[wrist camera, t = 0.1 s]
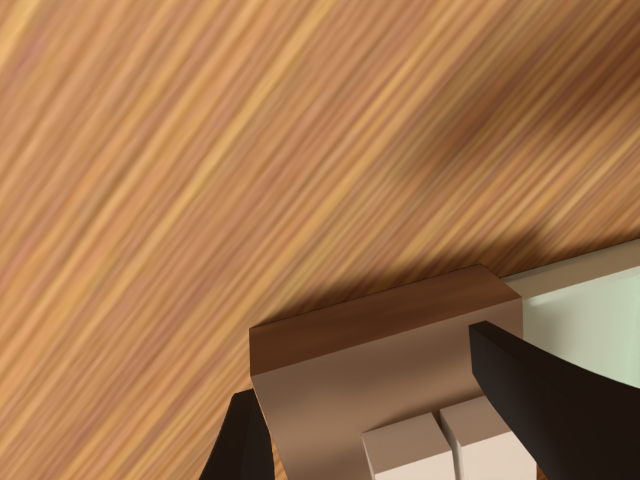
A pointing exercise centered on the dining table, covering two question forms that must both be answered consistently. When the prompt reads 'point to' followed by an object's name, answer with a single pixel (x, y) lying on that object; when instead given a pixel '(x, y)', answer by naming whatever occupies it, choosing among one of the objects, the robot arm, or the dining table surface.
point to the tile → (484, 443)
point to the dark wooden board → (372, 366)
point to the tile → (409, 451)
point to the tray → (587, 310)
